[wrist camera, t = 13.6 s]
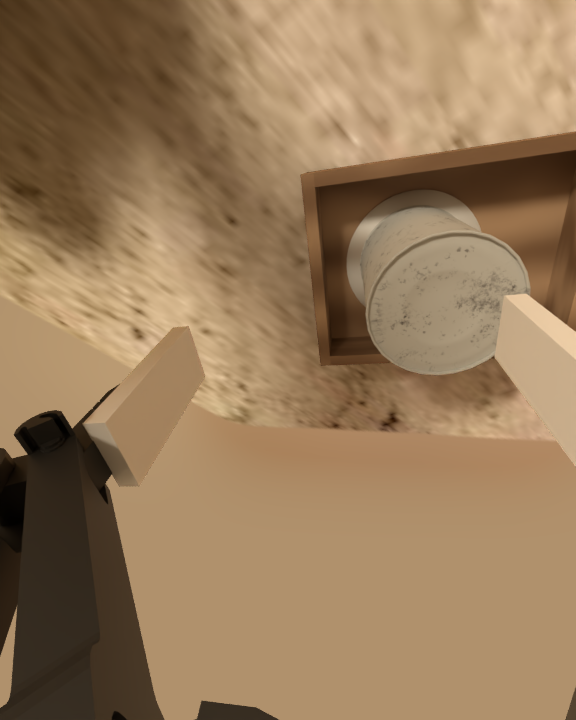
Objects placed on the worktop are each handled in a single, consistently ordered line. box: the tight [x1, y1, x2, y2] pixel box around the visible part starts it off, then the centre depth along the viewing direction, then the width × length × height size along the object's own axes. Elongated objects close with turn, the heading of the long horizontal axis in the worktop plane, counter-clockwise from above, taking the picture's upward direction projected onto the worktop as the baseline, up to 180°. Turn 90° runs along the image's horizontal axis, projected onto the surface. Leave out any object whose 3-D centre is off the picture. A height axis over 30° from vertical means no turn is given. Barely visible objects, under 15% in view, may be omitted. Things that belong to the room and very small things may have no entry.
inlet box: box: [301, 132, 576, 366], centre depth 31 cm, size 17×22×5 cm
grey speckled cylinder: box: [360, 205, 531, 375], centre depth 27 cm, size 10×10×12 cm
